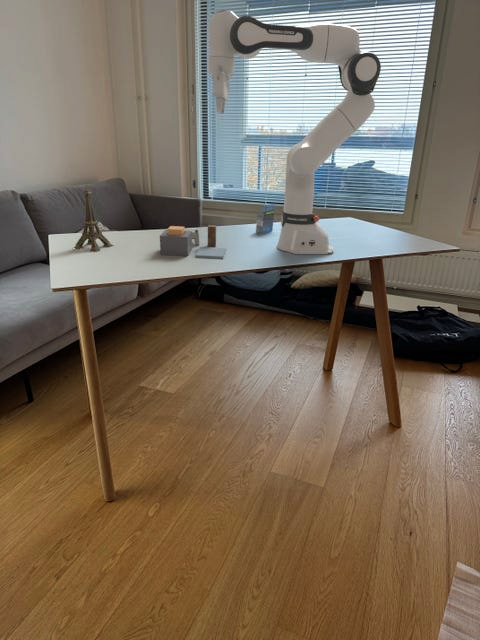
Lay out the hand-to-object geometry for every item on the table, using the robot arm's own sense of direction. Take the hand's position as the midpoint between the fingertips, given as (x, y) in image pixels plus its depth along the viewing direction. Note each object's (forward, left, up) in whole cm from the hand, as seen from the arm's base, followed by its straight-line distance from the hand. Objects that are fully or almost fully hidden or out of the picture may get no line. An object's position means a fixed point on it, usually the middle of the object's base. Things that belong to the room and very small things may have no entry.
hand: (220, 113), depth 152 cm
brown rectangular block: (+2, +3, -48) cm, 48 cm away
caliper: (+12, -6, -48) cm, 50 cm away
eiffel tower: (+46, +13, -48) cm, 68 cm away
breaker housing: (+14, +14, -48) cm, 52 cm away
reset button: (+14, +14, -42) cm, 46 cm away
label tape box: (-19, -28, -48) cm, 59 cm away
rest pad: (+1, +14, -48) cm, 50 cm away
